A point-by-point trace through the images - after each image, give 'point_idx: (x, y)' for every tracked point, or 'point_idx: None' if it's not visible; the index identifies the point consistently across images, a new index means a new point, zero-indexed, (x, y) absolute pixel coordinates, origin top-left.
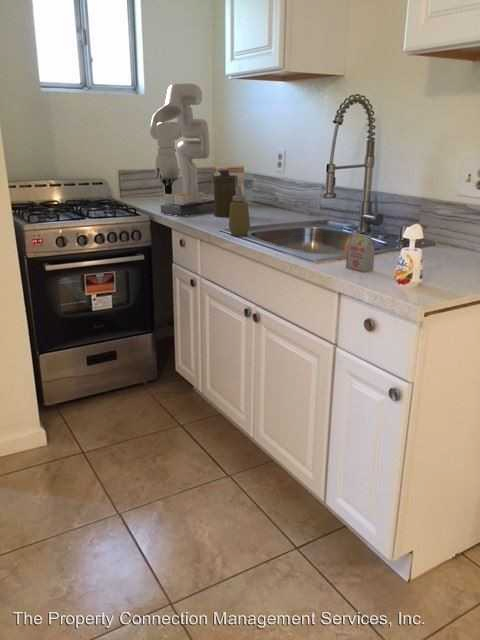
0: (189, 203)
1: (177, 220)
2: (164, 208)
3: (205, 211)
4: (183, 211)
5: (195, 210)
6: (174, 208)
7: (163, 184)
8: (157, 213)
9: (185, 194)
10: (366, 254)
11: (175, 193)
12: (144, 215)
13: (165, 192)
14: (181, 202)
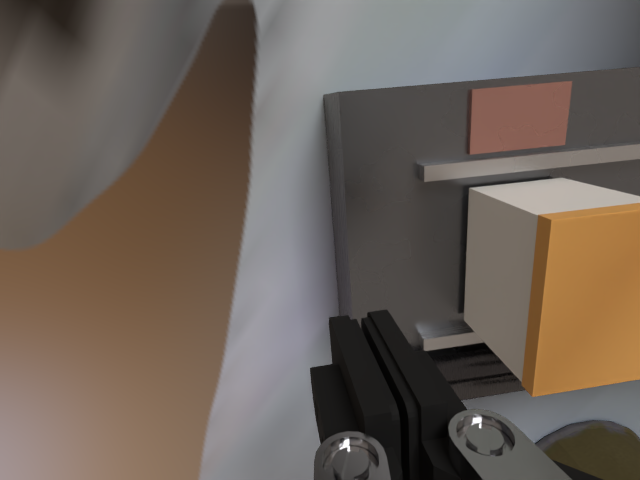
0: (498, 389)
1: (224, 471)
2: (337, 163)
3: None
4: None
5: None
6: None
7: (320, 454)
8: (308, 46)
9: (579, 382)
10: None
11: (546, 263)
12: (125, 66)
13: (334, 339)
14: (476, 318)
